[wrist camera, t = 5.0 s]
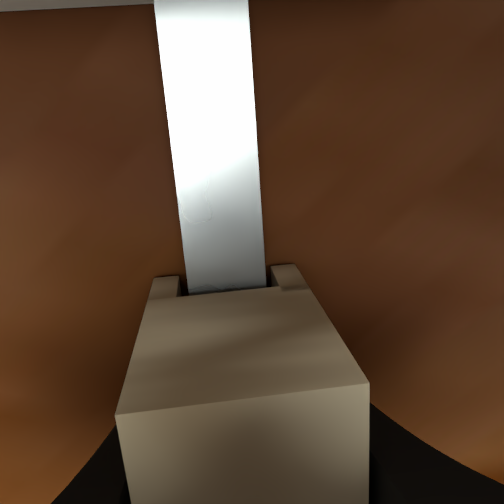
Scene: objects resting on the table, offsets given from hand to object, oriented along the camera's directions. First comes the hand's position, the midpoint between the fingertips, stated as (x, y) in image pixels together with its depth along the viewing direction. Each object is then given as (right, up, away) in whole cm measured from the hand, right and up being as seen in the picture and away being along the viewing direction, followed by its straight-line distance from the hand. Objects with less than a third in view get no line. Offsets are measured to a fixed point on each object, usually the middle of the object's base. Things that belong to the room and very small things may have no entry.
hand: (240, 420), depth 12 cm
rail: (0, +2, +2) cm, 3 cm away
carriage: (0, +1, +2) cm, 2 cm away
